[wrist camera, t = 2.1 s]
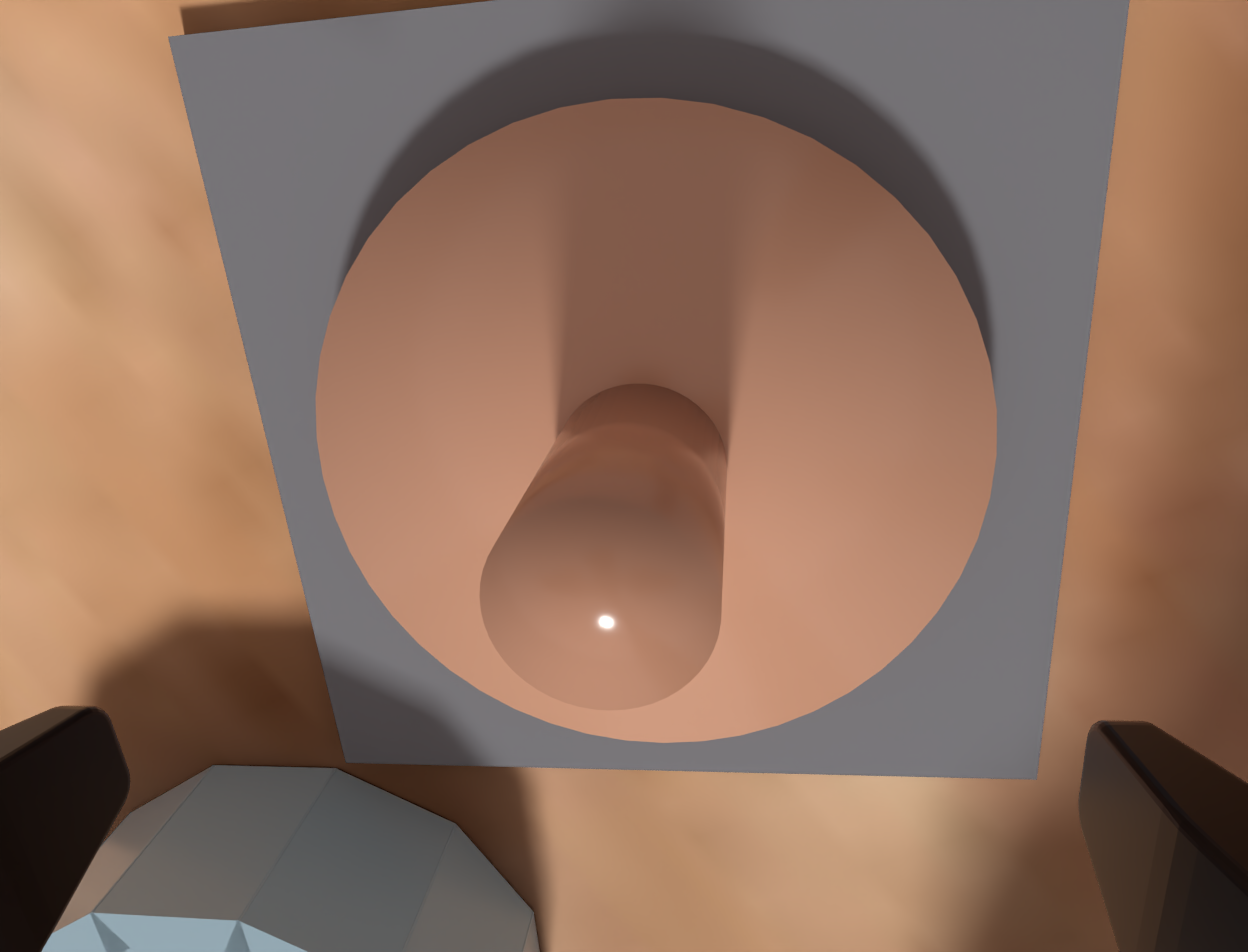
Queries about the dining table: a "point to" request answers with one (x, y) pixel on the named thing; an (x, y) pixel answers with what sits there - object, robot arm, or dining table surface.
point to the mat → (745, 81)
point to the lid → (656, 420)
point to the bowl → (290, 874)
